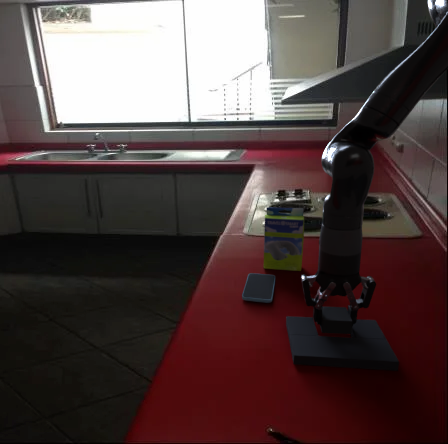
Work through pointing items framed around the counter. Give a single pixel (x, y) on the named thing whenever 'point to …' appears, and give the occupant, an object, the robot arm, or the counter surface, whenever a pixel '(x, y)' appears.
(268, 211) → the box
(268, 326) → the counter surface
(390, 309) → the counter surface
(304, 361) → the u-shaped block
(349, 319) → the dark grey square block
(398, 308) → the counter surface
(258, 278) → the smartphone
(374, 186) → the counter surface
